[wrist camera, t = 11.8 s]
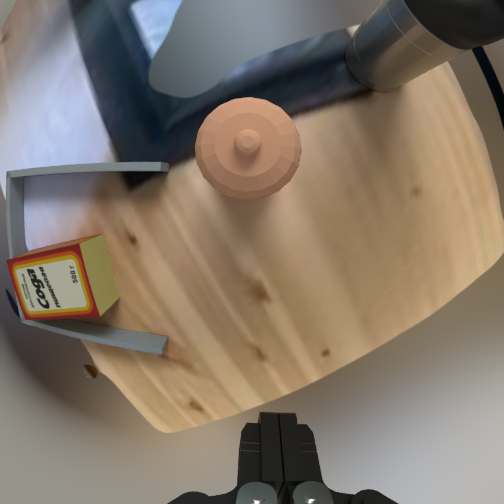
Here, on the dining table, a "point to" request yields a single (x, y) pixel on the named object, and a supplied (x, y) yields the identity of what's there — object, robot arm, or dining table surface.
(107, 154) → the dining table surface
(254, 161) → the pepper shaker
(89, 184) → the dining table surface
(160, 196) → the dining table surface
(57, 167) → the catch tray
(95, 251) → the baking soda box
